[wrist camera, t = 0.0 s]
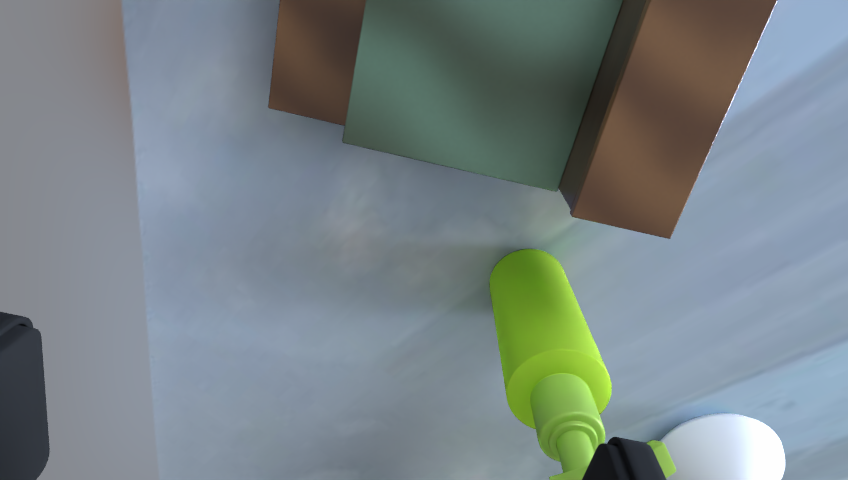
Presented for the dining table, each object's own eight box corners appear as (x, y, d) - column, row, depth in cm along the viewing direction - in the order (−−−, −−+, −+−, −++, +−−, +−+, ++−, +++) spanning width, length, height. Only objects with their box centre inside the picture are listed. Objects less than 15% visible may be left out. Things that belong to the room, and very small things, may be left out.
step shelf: (306, -125, 33) (245, -179, 22) (690, -26, 34) (794, -35, 24) (280, 99, 38) (221, 137, 28) (612, 177, 39) (670, 239, 29)
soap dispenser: (588, 292, 43) (695, 509, 25) (507, 325, 45) (552, 553, 26) (560, 230, 41) (653, 418, 23) (476, 267, 43) (501, 471, 24)
